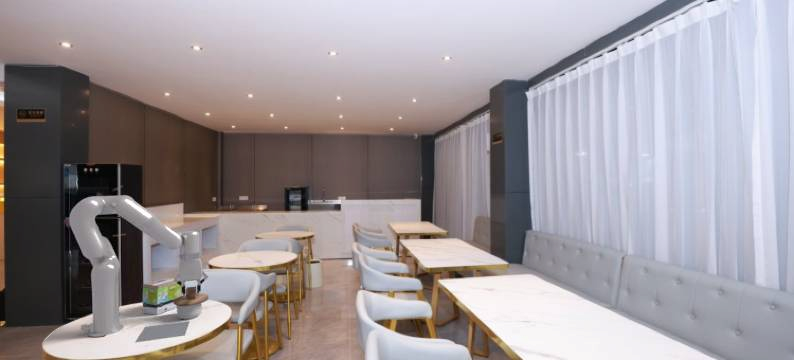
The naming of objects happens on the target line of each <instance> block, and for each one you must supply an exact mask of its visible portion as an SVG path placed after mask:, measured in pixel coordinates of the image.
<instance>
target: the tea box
mask: <svg viewBox="0 0 794 360" xmlns="http://www.w3.org/2000/svg"><path fill="white" fill-rule="evenodd" d="M174 279H175V277H164V278H161V279H158V280H154V281H150V282H146V283H144V284H142V314H147V315H153V316H154V315H155V316H158V315H159V314H162V313H165V312H167V311H170V310H174V309H177V306H176V305H175V304H174V299H176V298H178V297H181V296H183V293H182V287H181V286H180V285H179V284H177V283H176V282H174V281H173V280H174ZM178 280H179V278H178ZM181 282H182V281H181Z"/></svg>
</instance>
